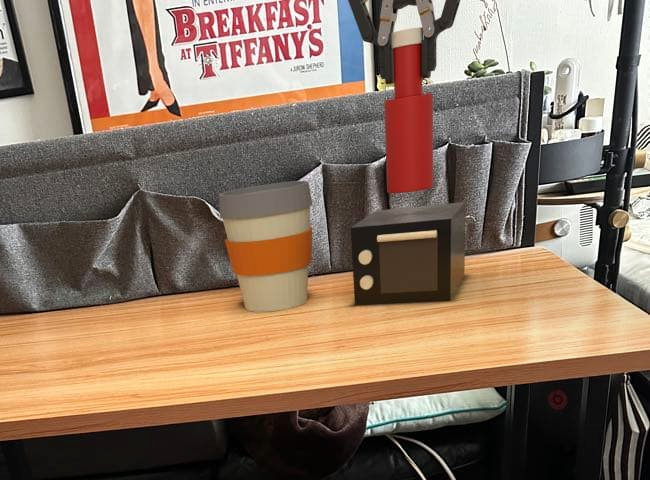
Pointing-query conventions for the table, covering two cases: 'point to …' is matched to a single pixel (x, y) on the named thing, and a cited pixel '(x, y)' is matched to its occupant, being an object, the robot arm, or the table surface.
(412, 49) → the ketchup bottle
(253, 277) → the reusable coffee cup
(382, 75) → the robot arm
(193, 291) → the table surface
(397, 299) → the toaster oven
